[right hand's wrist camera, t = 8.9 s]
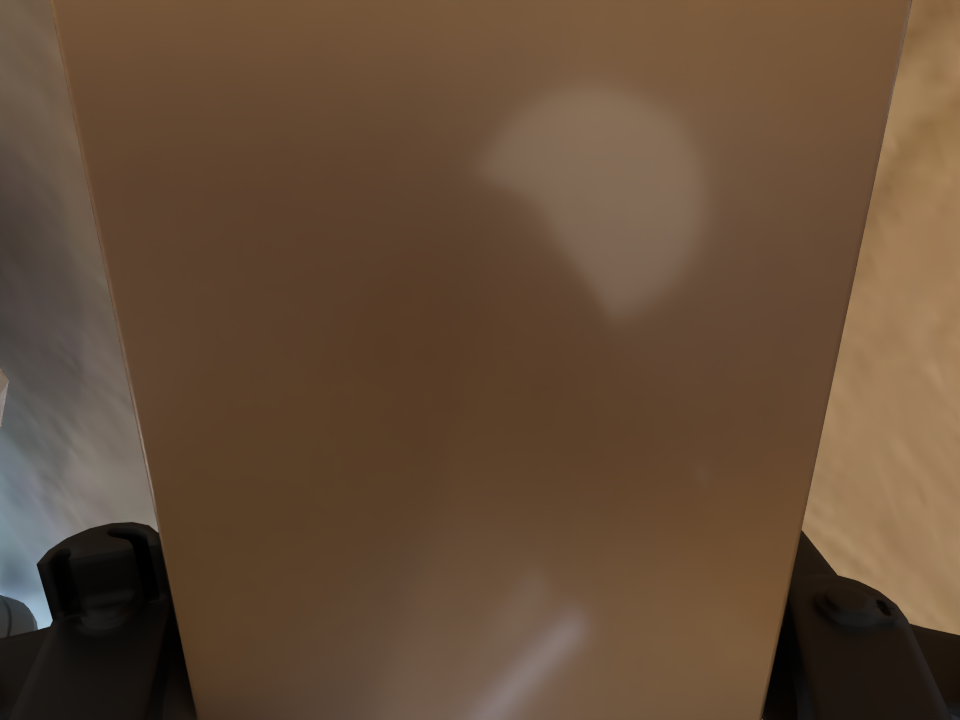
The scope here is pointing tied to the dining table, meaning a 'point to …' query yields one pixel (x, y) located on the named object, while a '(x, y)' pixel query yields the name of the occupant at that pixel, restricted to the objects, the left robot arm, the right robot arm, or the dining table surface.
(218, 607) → the bar
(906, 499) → the dining table surface
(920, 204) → the dining table surface
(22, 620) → the sphere
